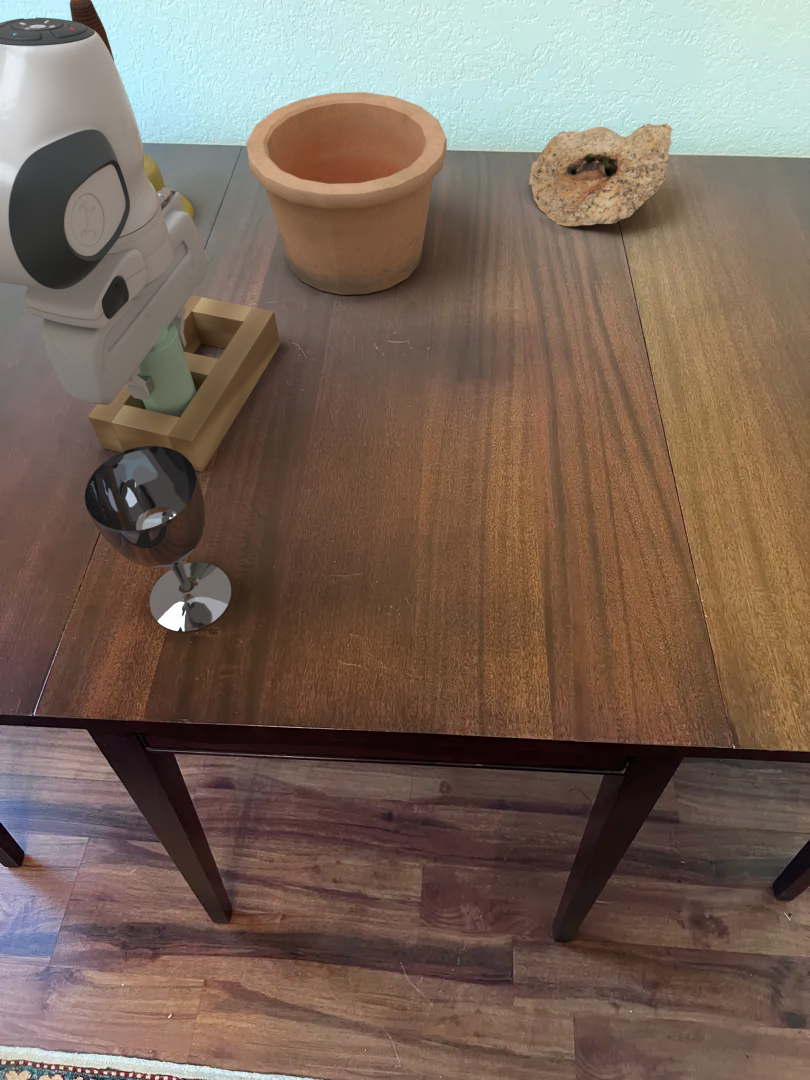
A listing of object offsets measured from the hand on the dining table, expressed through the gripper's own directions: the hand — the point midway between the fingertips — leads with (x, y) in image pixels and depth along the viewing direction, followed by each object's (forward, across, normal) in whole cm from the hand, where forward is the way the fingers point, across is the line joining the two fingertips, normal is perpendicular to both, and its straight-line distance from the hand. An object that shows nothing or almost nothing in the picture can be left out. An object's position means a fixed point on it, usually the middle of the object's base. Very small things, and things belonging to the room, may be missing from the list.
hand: (160, 371), depth 75 cm
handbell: (+7, -32, -21) cm, 39 cm away
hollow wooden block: (+7, -4, 0) cm, 8 cm away
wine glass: (+7, +19, +11) cm, 23 cm away
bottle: (+6, 0, 0) cm, 6 cm away
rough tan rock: (+7, -51, +34) cm, 62 cm away
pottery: (+7, -32, +8) cm, 34 cm away
